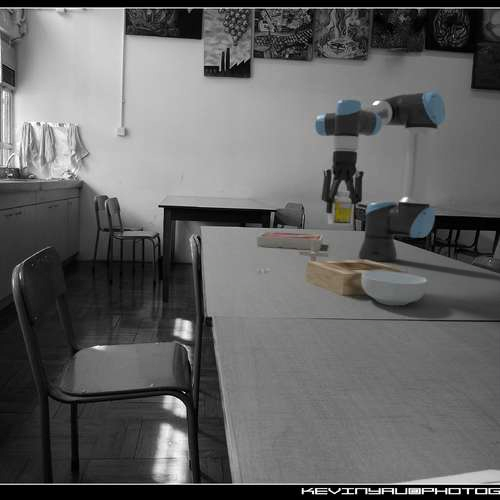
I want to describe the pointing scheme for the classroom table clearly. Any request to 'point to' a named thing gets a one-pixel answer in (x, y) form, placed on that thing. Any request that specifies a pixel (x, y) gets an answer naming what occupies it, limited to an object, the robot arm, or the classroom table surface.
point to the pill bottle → (342, 208)
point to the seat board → (343, 274)
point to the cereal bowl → (393, 287)
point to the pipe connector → (314, 252)
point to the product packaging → (288, 240)
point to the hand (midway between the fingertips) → (340, 223)
